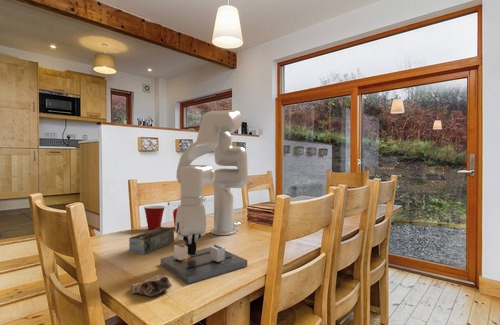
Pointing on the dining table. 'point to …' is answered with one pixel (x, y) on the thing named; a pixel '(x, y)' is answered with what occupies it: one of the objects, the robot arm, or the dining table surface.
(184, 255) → the fader cream
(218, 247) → the white block
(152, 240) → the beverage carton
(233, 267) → the console
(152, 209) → the plastic cup
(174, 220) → the apple
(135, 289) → the rock
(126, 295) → the dining table surface
